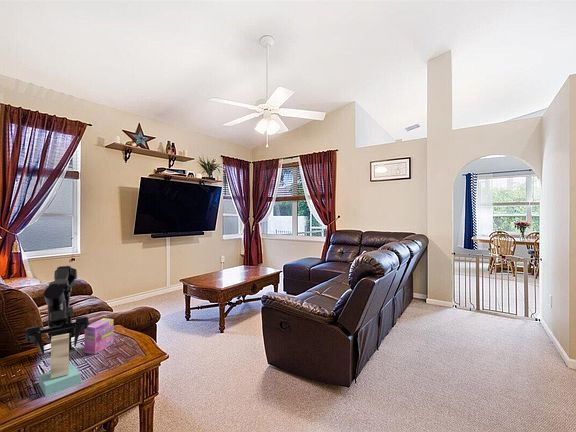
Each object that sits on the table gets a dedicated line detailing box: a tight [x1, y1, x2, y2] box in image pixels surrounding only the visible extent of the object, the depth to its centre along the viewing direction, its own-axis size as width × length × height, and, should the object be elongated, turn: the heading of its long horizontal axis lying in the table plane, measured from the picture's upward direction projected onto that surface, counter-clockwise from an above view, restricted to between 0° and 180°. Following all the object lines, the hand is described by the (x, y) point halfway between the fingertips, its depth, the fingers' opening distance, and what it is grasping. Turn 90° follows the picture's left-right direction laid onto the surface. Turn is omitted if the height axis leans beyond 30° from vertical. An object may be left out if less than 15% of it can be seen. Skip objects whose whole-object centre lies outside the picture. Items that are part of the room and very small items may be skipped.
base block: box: [38, 363, 82, 397], centre depth 105 cm, size 10×10×4 cm
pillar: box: [50, 333, 70, 379], centre depth 105 cm, size 5×5×13 cm
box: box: [84, 317, 114, 355], centre depth 132 cm, size 10×6×12 cm, turn 168°
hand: (59, 349), depth 107 cm, fingers open, 9 cm apart
